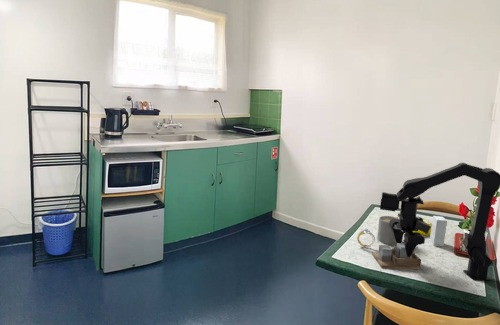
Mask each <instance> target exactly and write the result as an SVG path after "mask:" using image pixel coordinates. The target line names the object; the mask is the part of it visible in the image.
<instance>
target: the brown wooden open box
mask: <svg viewBox="0 0 500 325" xmlns="http://www.w3.org/2000/svg"><path fill="white" fill-rule="evenodd" d="M395 249H396V247H395V248H391V246H390V245H388V244H378V251H377V252H372V254H371V257H372V258H374V260H375V261H376V262H377V264H378V265H379V267H380V268H381V269H399V270H400V269H401V270H422V268H423V267H422V259H421V258H420V257H419V256H418V255H416V253H415V252H414V251H413V253H412V255H411V257H410V259H407V258H396V256H395Z"/></svg>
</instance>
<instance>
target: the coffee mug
mask: <svg viewBox="0 0 500 325" xmlns="http://www.w3.org/2000/svg"><path fill="white" fill-rule="evenodd" d="M397 217H398V216H392V215H381V216H380V217H379V219H378V228H377V237H376V239H377V241H378V242H379V243H381V244H383V245H389V246H397V244H396V241H395V238H394V235H393V233H392V230H391V228H390V227H391V226H389V222H390V220H391V219H399V218H397Z"/></svg>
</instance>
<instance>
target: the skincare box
mask: <svg viewBox="0 0 500 325" xmlns="http://www.w3.org/2000/svg"><path fill="white" fill-rule="evenodd" d="M431 223H432V228H431V235H429V241H430V243H431V244H432V245H433V247H434V246H435V247H443V248H444V245H445V238H446V230H447V224H448V220H447V219H446V218H445V217H444V216H439V215H432V222H431Z"/></svg>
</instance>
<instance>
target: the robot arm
mask: <svg viewBox="0 0 500 325" xmlns="http://www.w3.org/2000/svg"><path fill="white" fill-rule="evenodd" d="M463 176H464V177H465V176H466V177H468V178H471V179H472V180H475V181H477V186H478V196H477V201H476V206H475V209H474V210H475V211H474V216H473V220H472V225H471V229H470V231H469V232H464V233H463V239H462V241H461V243H462V244H463V247H464V249H465V251H466V253H467V255H468V256H469V257H468V258H469V259H468V264H467V269H463V271H462V272H463V273H465V275H467V276H468V277H469V278H470V279H471V280H474V281H491V280H492V279H491V278H490V277H489V276H488V274H489V273H488V272H489V267H490V266H491V265H492V264H493V260H492V258H491V257H490V255H489V254H488V252H487V243H486V242H487V241H486V231H487V226H488V222H489V217H490V213H491V209H492V203H493V199H494V197H495V195H496V194H497V192H498V190H499V188H500V173H499V172H498V171H497V170H494V169H493V168H490V167H485V168H481V167H478V166H476V165H471V164H468V163H465V162H460V163H458V164H456V165H454V166H451V167H448V168H445V169H443V170H440V171H439V172H438V171H437V172H435V173H433V174H430V175H428V176H424V177H416V178H415V177H414V178H411V179H407V180H405V181H404V183H403V185H402V187H401V188H400V190H399V191H398V192H397V193H396V194H395V193H388V192H384V191H383V192H381V198H380V203H379V204H380V205H379V210H382V211H386V212H387V211H389V212H396V211H398V210H399V209H400V211H399V212H398V213H397V217H399V219H391V220H390V222H389V226H391V227H390V228H391V230H392V233H393V235H394V238H395V241H396V244H397V243H404V245H405V250H406V254H407V257H410V256H411V255H412V253H413V252H414V250H415V249H416V248H417V246H419V245H421V246H422V244H423V245H425V244H426V242H425V241H426V237H424V235H421V234H420V233H417V232H413V231H418V230H420V231H422V232H425V233H426V234H428V232H429V230H430V228H431V226H430V225H428V224H427V223H425V222H423V219H424V218H423V217H421V216H417V213H418V212H417V211H418V206H419V205H424V200H423V199H422V198H421V196H420V195H422V194H424V193H425V192H426V191H428V190H429V189H431V188H433V187H436V186H439V185H441V184H444V183H445V184H446V183H447V182H450V181H452V180H455V179H458V178H460V177H463ZM400 202H401V203H400ZM422 218H423V219H422Z"/></svg>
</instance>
